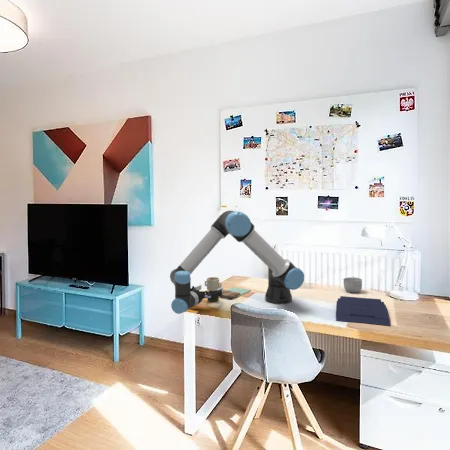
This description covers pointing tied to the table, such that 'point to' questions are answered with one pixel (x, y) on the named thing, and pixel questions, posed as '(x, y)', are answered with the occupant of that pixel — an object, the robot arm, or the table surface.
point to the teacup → (352, 284)
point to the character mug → (213, 286)
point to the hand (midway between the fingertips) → (211, 288)
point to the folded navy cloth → (362, 310)
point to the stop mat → (238, 290)
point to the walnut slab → (229, 294)
